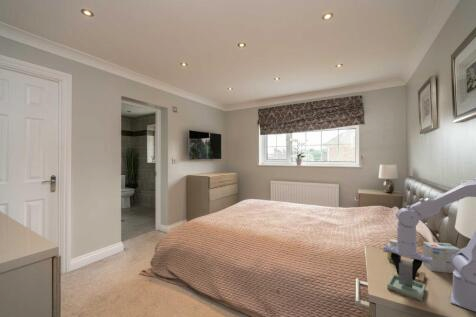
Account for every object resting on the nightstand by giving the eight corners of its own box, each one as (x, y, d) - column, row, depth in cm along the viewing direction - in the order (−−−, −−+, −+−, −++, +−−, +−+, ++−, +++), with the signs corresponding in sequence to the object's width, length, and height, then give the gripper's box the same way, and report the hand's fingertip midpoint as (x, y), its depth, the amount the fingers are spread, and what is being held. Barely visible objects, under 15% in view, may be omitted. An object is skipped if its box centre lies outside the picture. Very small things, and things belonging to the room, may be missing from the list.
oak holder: (425, 276, 90) (425, 273, 90) (422, 284, 84) (422, 280, 84) (401, 269, 96) (401, 265, 96) (397, 276, 90) (397, 272, 90)
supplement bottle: (403, 264, 100) (403, 243, 100) (390, 263, 101) (390, 242, 101) (397, 258, 105) (397, 238, 105) (385, 257, 106) (385, 238, 106)
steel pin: (413, 283, 82) (414, 262, 82) (412, 288, 79) (412, 266, 79) (400, 279, 85) (401, 259, 85) (398, 283, 82) (398, 262, 82)
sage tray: (425, 289, 81) (425, 284, 81) (421, 301, 75) (421, 296, 75) (393, 278, 89) (393, 274, 89) (387, 288, 82) (387, 284, 82)
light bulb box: (449, 266, 98) (449, 242, 98) (461, 274, 91) (461, 249, 91) (422, 263, 100) (422, 241, 100) (431, 271, 94) (431, 247, 94)
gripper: (433, 243, 79) (433, 279, 79) (386, 233, 89) (386, 265, 90) (431, 249, 74) (431, 288, 74) (382, 237, 84) (381, 271, 85)
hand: (406, 276), depth 82 cm, fingers closed on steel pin, 4 cm apart
